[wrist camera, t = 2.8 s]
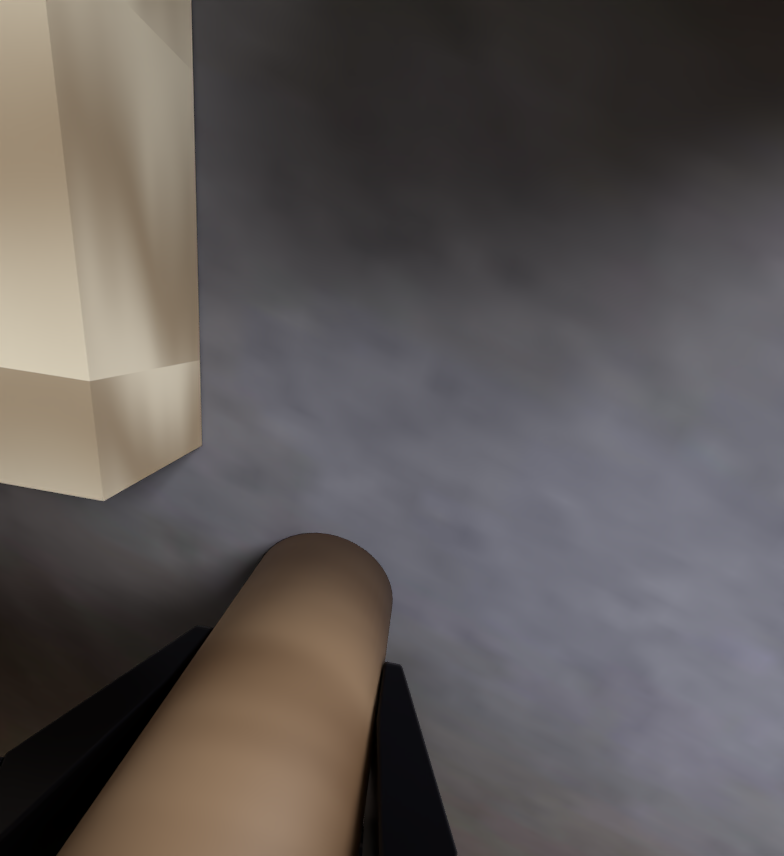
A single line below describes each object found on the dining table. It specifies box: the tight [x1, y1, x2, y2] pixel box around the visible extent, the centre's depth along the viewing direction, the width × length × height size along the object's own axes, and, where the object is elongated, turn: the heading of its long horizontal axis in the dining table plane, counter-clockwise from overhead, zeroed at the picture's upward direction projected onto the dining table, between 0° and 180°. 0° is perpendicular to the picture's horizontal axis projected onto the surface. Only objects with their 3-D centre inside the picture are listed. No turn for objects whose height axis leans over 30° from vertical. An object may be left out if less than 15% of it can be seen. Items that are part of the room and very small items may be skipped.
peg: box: [56, 533, 393, 856], centre depth 7 cm, size 4×4×7 cm
